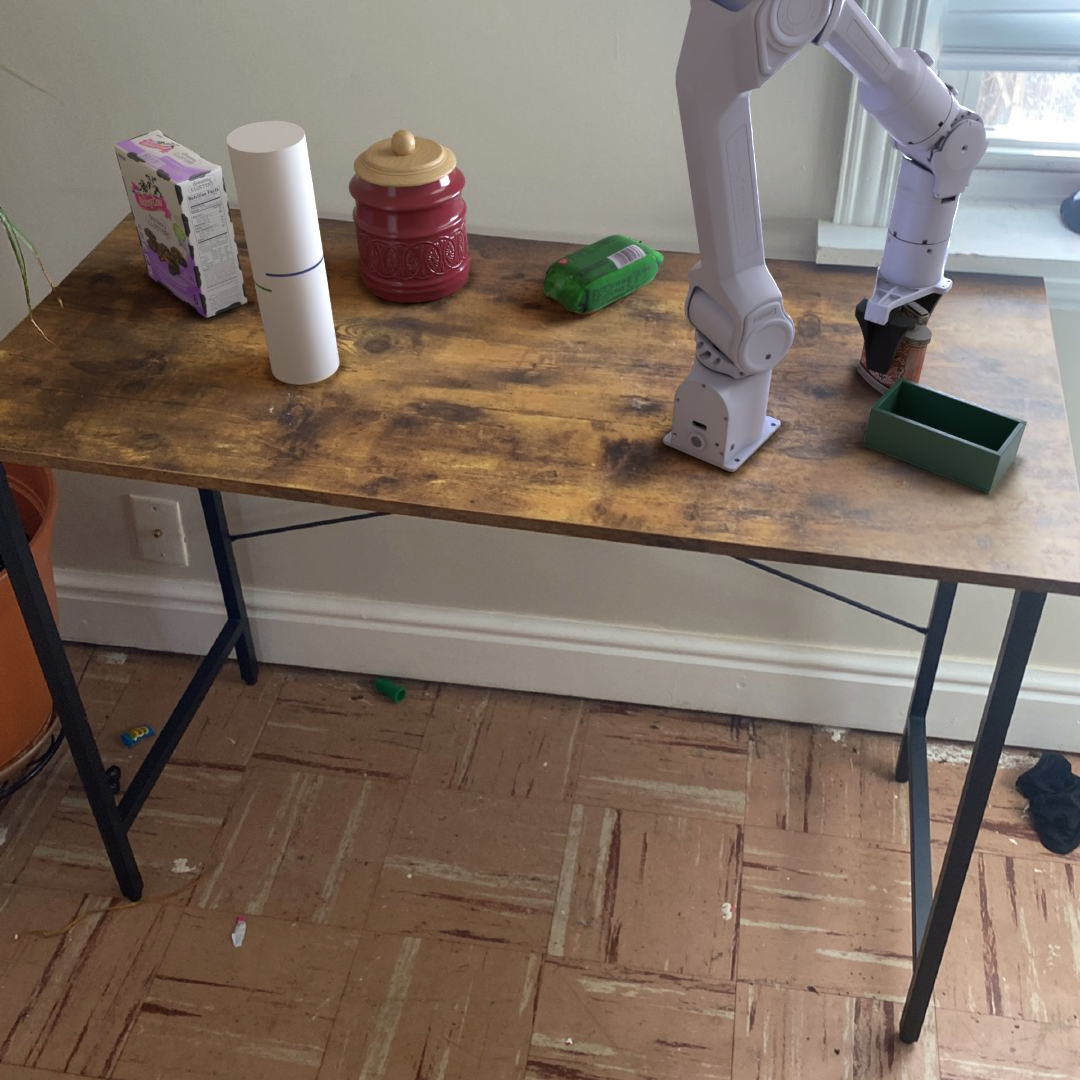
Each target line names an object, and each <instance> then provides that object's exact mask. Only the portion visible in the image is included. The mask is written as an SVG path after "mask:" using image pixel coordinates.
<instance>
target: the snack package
mask: <svg viewBox="0 0 1080 1080" xmlns="http://www.w3.org/2000/svg"><path fill="white" fill-rule="evenodd" d="M664 258H665V257H664V255H663V254H662V253H661V252H659V251H657V250H655V249H653V248H652V247H650V246H648V245H645V244H643V243H642V240H639V241H637V240H636V239H633V238H631V237H628V236H625V235H623V234H613V235H609V236H606V237H604V238H602V239H601V238H600V239H599V240H597V241H595V242H593V243H590V244H588V245H586V246H584V247H581V248H578V249H577V250H575V251H573V252H571V253H568V254H567V255H564V256H563V257H560V258H559V259H557V260H556V261H554V262H552V263H551V265H550V266H549V267H548V269H547V270H546V273H545V276H544V277H545V278H544V280H543V289H542V290H543V293H544V295H545V296H546V297H548V298H549V299H553V300H555V302H558V303H559V304H561V305H563V306H564V307H565V310H566V311H568V312H571V313H572V312H574V313H576V314H578V315H583V316H585V315H591V314H594V313H596V312H598V311H600V310H601V309H603V308H605V307H607V306H608V305H610V304H613V303H614V302H616V301H618V300H620V299H623V298H625V297H626V296H629V295H631V294H632V293H634V292H636V291H638V290H640V289H642V288H643V287H645V286H646V285H647V284H649V283H650V282H652V281H653V279H655V277H656V275H657V273H658V272H659V269H660V268H661V266H662V264H663V262H664Z"/></svg>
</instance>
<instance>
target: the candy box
mask: <svg viewBox="0 0 1080 1080" xmlns="http://www.w3.org/2000/svg"><path fill="white" fill-rule="evenodd" d="M113 148H114V152H115V155H116V160H117V162H118V166H119V170H120V174H121V177H122V181H123V184H124V189H125V192H126V196H127V199H128V203H129V206H130V211H131V213H132V218H133V222H134V226H135V229H136V233H137V236H138V241H139V245H140V248H141V252H142V255H143V259H144V263H145V268H146V271H147V275H148V276H149V277H150V278H151V279H152V280H153V281H155V282H156V283H158V284H160V285H161V286H162V287H163V288H164V289H166V290H167V291H169V292H170V293H171V294H172V295H174V296H175V297H177V298H178V299H179V300H181V301H182V302H183V303H185V304H186V305H188V306H189V307H190V308H192V309H193V310H194V311H196V312H197V313H198V314H200V315H201V316H203V318H205V319H209V318H211V317H214V316H217V315H219V314H222V313H225V312H227V311H229V310H232V309H235V308H237V307H240V306H242V305H245V304H247V303H248V297H247V292H246V286H245V282H244V276H243V271H242V266H241V261H240V256H239V252H238V251H239V250H238V245H237V241H236V235H235V230H234V224H233V219H232V214H231V209H230V204H229V199H228V193H227V189H226V184H225V178H224V174H223V169H222V166H221V165H219V164H215V163H213V162H212V161H210V160H209V159H207V158H205V157H203V156H201V155H200V154H198V153H196V152H195V151H193V150H192V149H190V148H188V147H186V146H185V145H183V144H181V143H180V142H178V141H176V140H175V139H173V138H171V137H169V136H168V135H167V134H164V133H163V132H162V131H161V130H159V129H155V130H153V131H150V132H147V133H143V134H139V135H137V136H135V137H132V138H129V139H125V140H122V141H118V142H116V143H114V144H113Z"/></svg>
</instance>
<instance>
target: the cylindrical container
mask: <svg viewBox="0 0 1080 1080" xmlns="http://www.w3.org/2000/svg"><path fill="white" fill-rule="evenodd" d="M226 146H227V150H228V155H229V160H230V165H231V171H232V176H233V181H234V186H235V192H236V197H237V202H238V206H239V211H240V217H241V222H242V227H243V232H244V238H245V243H246V247H247V248H246V249H247V253H248V258H249V262H250V267H251V273H252V278H253V283H254V287H255V293H256V298H257V303H258V308H259V313H260V318H261V319H260V320H261V323H262V328H263V332H264V333H263V334H264V338H265V343H266V347H267V348H266V349H267V354H268V359H269V363H270V369H271V372H272V375H273V376H274V377H275V379H277V380H278V381H280V382H282V383H285V384H289V385H298V386H299V385H311V384H316V383H318V382H322V381H324V380H326V379H328V378H330V377H331V376H333V375H334V374H335V373H336V372H337V371H338V369H339V367H340V357H339V350H338V345H337V344H338V343H337V337H336V331H335V325H334V324H335V323H334V317H333V312H332V311H333V310H332V304H331V298H330V289H329V284H328V277H327V270H326V264H325V258H324V251H323V244H322V238H321V231H320V230H321V229H320V223H319V217H318V211H317V204H316V198H315V192H314V185H313V178H312V172H311V171H312V170H311V164H310V158H309V151H308V144H307V138H306V131H305V130H304V128H303V127H301V126H300V125H298V124H296V123H294V122H289V121H282V120H264V121H256V122H252V123H247V124H244V125H241V126H240V127H237V128H235V129H234V130H232V131H231V132H229V134H228V135H227V136H226Z"/></svg>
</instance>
